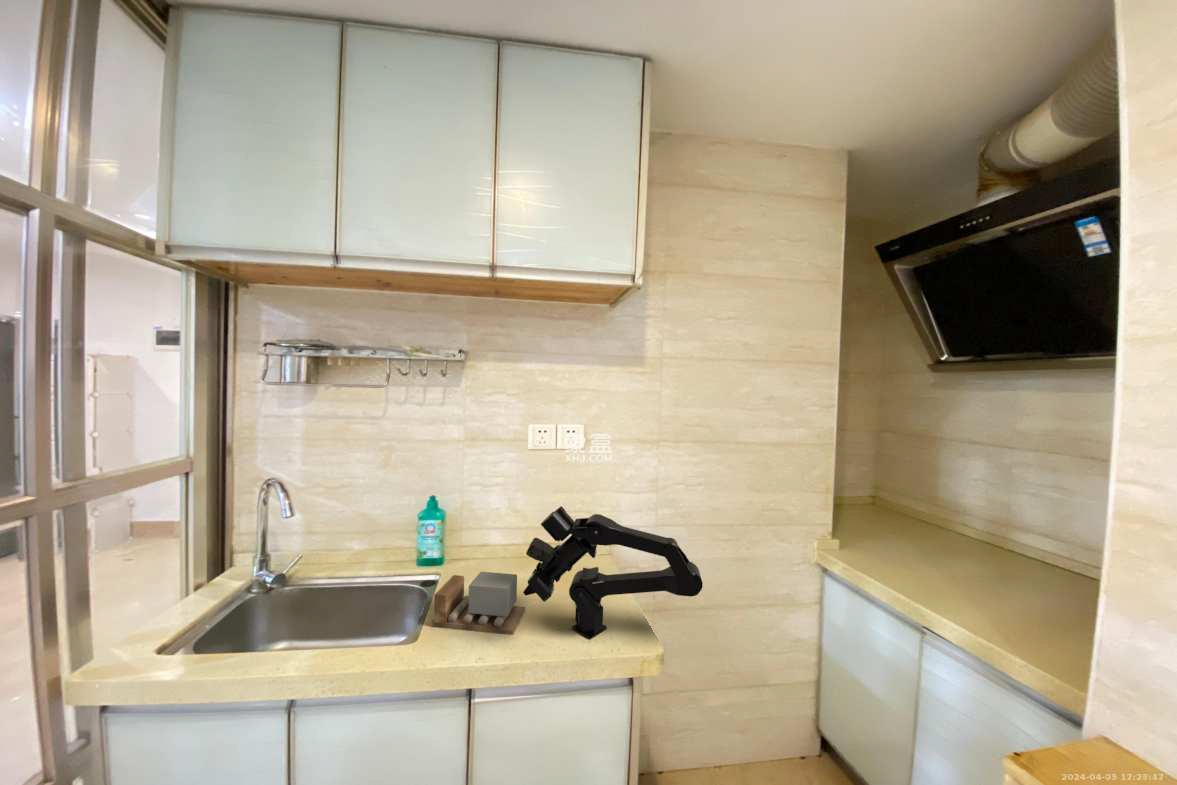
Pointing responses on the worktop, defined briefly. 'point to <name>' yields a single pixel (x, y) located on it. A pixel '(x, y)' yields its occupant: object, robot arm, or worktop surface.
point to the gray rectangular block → (493, 593)
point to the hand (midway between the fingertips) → (524, 593)
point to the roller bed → (489, 624)
